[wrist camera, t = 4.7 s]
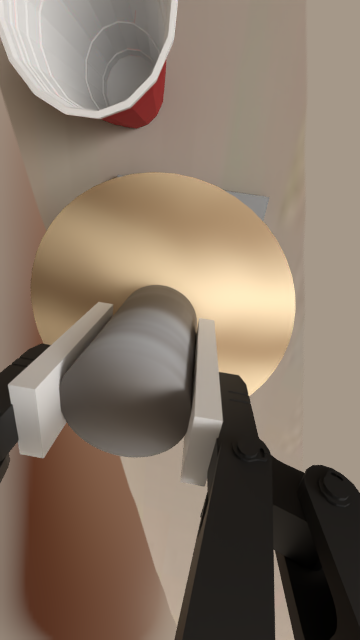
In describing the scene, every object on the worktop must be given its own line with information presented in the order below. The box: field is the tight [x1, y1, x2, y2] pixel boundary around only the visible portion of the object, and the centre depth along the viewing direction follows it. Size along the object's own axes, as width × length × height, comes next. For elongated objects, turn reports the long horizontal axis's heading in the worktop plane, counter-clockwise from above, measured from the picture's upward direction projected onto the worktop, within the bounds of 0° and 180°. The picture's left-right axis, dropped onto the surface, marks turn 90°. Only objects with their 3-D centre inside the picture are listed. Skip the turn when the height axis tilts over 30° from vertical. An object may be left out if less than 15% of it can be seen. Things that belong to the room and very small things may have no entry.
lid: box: [31, 172, 295, 457], centre depth 12 cm, size 15×15×8 cm
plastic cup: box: [0, 0, 178, 128], centre depth 19 cm, size 11×11×12 cm
